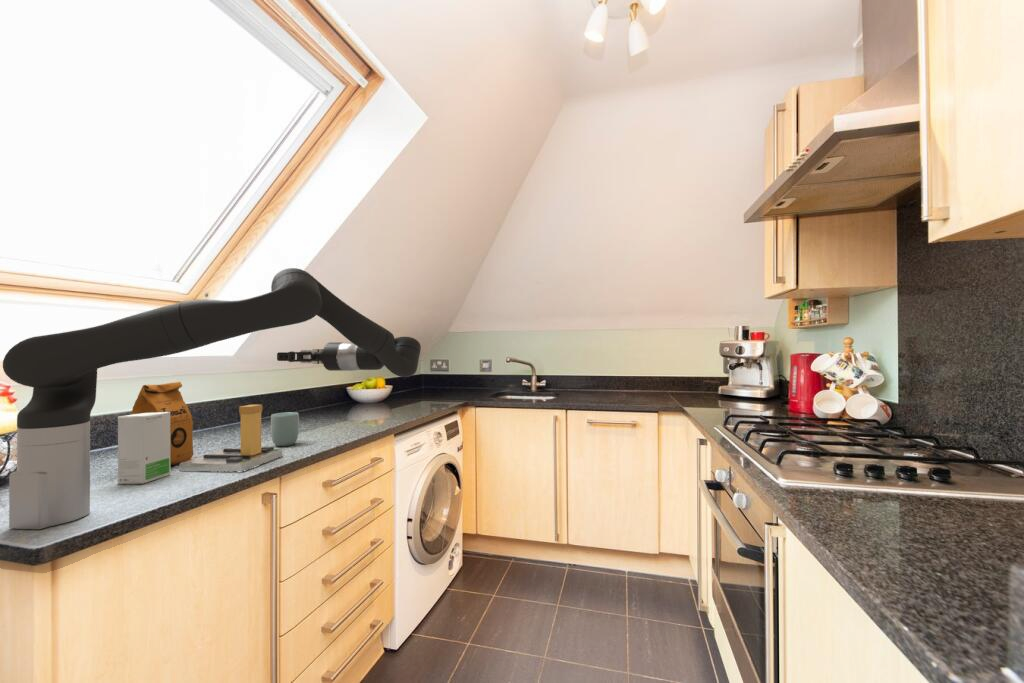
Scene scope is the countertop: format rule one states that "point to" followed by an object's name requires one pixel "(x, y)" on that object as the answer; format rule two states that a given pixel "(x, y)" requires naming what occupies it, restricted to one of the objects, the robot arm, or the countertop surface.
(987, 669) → the countertop surface
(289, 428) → the cup
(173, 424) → the coffee package
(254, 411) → the handle
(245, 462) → the plate
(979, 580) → the countertop surface
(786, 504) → the countertop surface
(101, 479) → the countertop surface
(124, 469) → the skincare box
